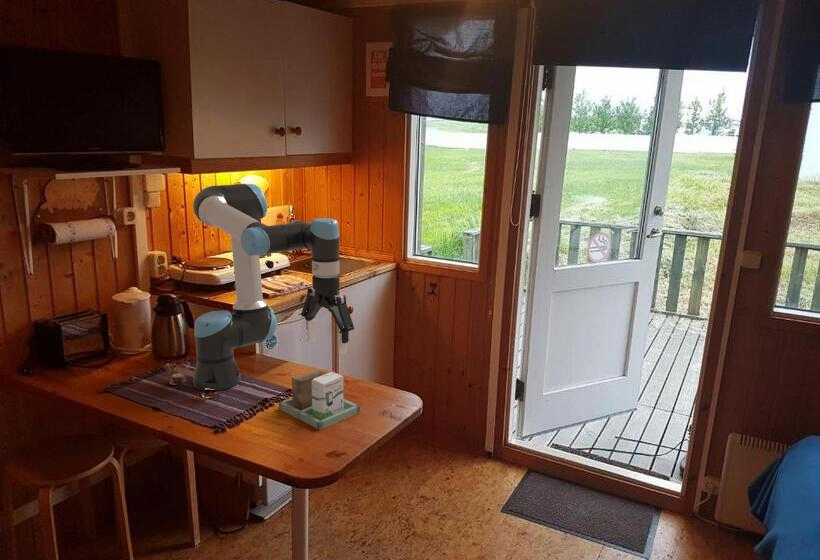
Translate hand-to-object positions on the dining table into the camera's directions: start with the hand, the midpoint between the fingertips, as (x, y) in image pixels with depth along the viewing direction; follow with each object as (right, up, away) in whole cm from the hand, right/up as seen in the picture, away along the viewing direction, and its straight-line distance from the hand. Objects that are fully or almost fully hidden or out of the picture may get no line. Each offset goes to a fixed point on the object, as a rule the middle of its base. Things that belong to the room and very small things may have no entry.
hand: (327, 347), depth 172 cm
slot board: (-3, -21, +8) cm, 22 cm away
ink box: (0, -21, +5) cm, 21 cm away
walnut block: (-7, -19, +11) cm, 23 cm away
